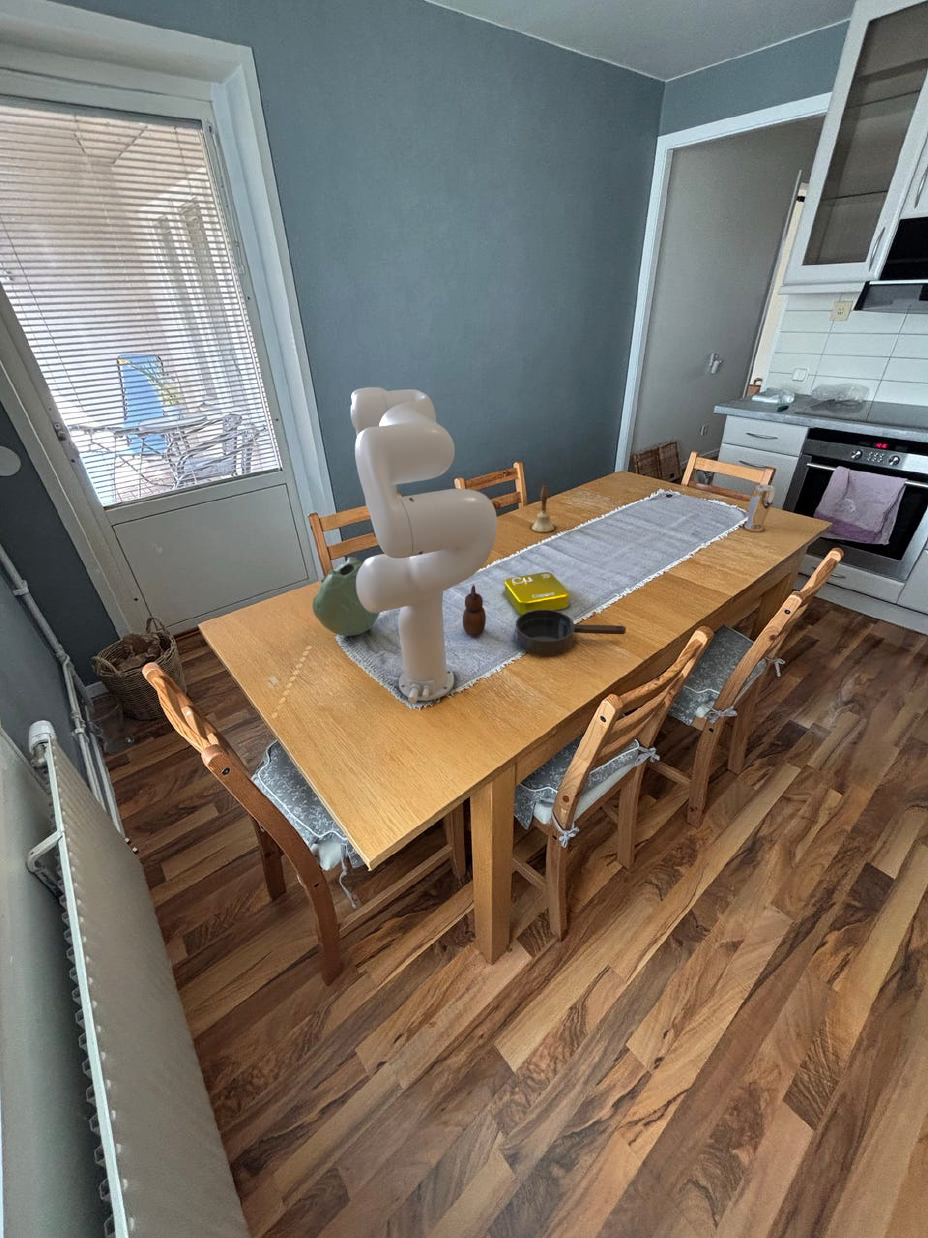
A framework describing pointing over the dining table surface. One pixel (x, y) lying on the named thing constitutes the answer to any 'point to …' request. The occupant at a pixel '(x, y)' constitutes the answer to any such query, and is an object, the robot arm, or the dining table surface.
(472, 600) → the wooden figurine
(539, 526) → the hand bell
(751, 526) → the beer glass
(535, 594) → the element tile
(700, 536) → the dining table surface
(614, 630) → the pan handle
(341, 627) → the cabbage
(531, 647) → the pan
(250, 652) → the dining table surface
